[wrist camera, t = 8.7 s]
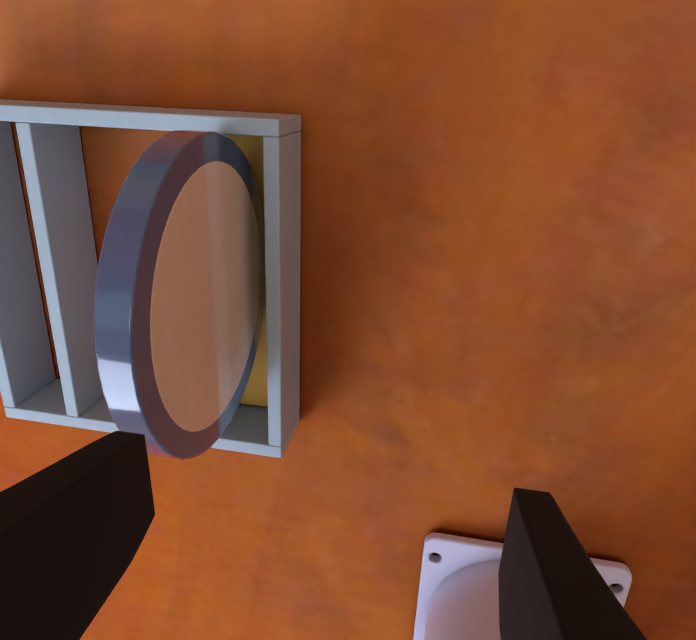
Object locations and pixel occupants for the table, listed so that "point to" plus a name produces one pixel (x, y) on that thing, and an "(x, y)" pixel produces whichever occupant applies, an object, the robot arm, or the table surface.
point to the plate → (181, 292)
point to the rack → (81, 266)
